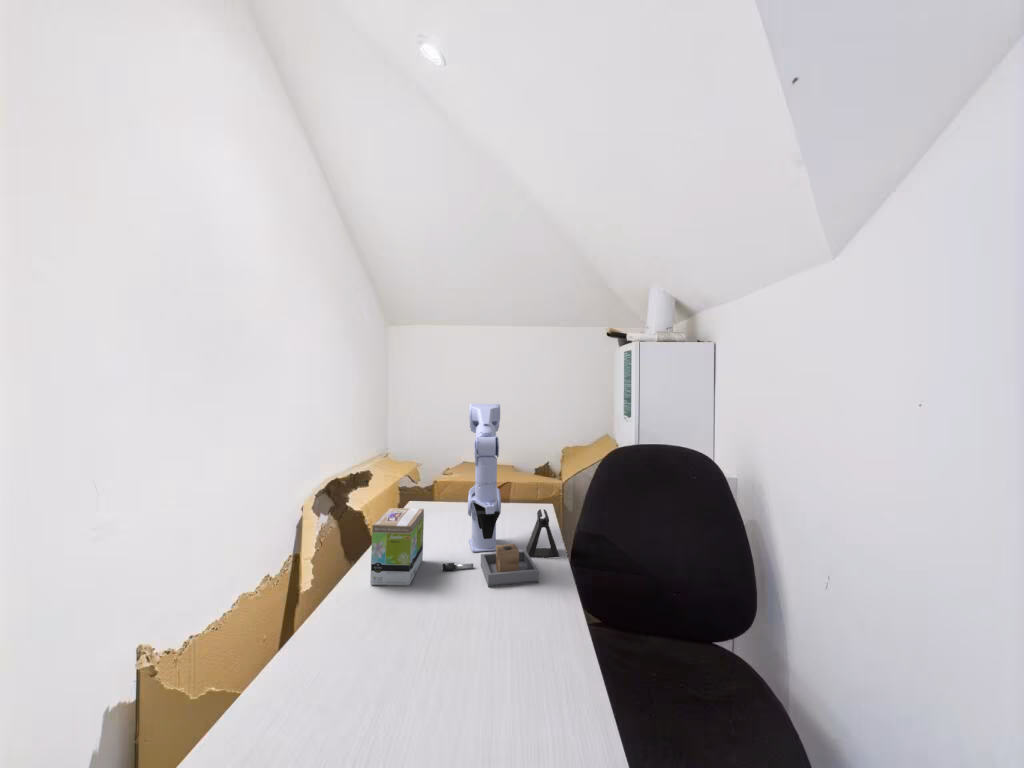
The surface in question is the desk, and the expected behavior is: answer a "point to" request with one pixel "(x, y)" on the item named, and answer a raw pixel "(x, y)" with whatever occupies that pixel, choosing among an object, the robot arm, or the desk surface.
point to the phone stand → (534, 538)
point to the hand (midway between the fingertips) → (485, 533)
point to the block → (507, 558)
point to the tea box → (397, 546)
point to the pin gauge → (456, 566)
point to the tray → (523, 576)
